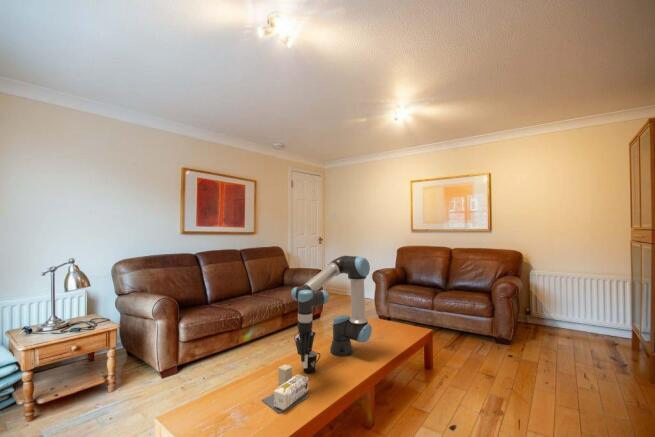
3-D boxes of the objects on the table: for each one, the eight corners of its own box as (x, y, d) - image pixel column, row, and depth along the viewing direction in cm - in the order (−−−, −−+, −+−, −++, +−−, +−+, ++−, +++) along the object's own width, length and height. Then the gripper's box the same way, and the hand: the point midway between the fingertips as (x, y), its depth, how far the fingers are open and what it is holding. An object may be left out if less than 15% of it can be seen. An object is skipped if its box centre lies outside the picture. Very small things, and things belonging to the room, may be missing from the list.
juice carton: (309, 375, 150) (285, 393, 133) (309, 393, 149) (284, 412, 133) (297, 371, 154) (272, 388, 137) (297, 388, 153) (272, 407, 137)
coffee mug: (303, 375, 167) (303, 357, 167) (300, 368, 175) (300, 351, 176) (323, 373, 170) (323, 355, 170) (319, 366, 178) (320, 349, 179)
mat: (291, 386, 156) (291, 385, 156) (309, 397, 146) (309, 396, 146) (261, 400, 143) (261, 399, 143) (278, 413, 133) (278, 412, 133)
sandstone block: (284, 380, 161) (285, 364, 162) (291, 383, 159) (292, 366, 159) (278, 384, 157) (278, 367, 158) (285, 387, 154) (285, 370, 155)
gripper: (309, 316, 161) (309, 360, 160) (290, 322, 152) (290, 368, 151) (319, 319, 156) (318, 365, 155) (300, 325, 146) (299, 374, 146)
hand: (304, 367), depth 153 cm, fingers closed
